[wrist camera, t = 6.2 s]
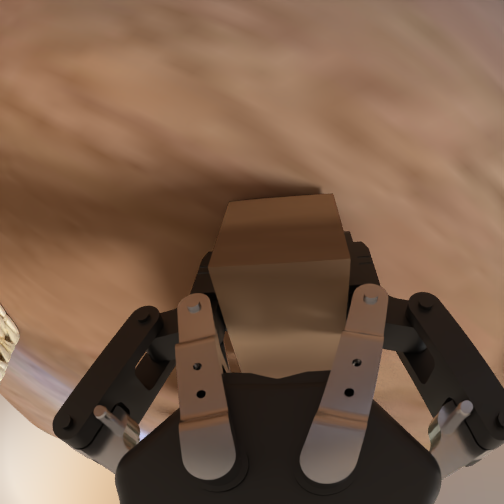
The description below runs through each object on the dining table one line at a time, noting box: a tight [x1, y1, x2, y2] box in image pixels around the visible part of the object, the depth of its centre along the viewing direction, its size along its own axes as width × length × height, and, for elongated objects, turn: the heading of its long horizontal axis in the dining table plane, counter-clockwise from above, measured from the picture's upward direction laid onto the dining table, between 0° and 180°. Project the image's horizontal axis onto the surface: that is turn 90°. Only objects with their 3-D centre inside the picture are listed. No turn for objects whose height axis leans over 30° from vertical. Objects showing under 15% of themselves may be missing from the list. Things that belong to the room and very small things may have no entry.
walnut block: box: [208, 194, 351, 379], centre depth 15 cm, size 12×4×4 cm, turn 8°
